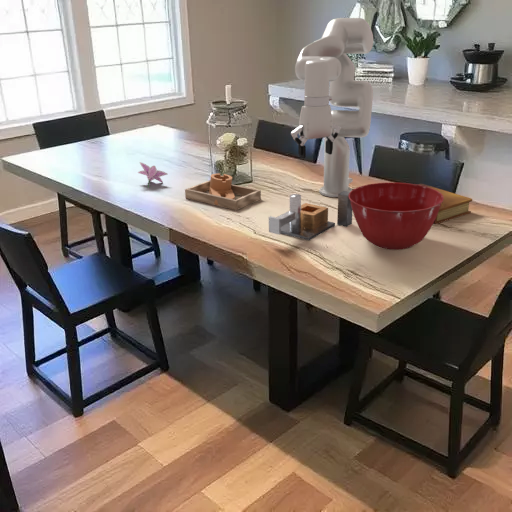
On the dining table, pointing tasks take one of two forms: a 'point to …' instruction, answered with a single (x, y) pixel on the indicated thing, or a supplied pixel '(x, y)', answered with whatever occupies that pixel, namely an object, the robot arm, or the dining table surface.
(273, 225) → the grey stepped fixture
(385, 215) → the mixing bowl
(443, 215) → the diary
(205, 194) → the wooden tray
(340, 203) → the grey rectangular block
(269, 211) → the dining table surface
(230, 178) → the bracket
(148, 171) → the lily
